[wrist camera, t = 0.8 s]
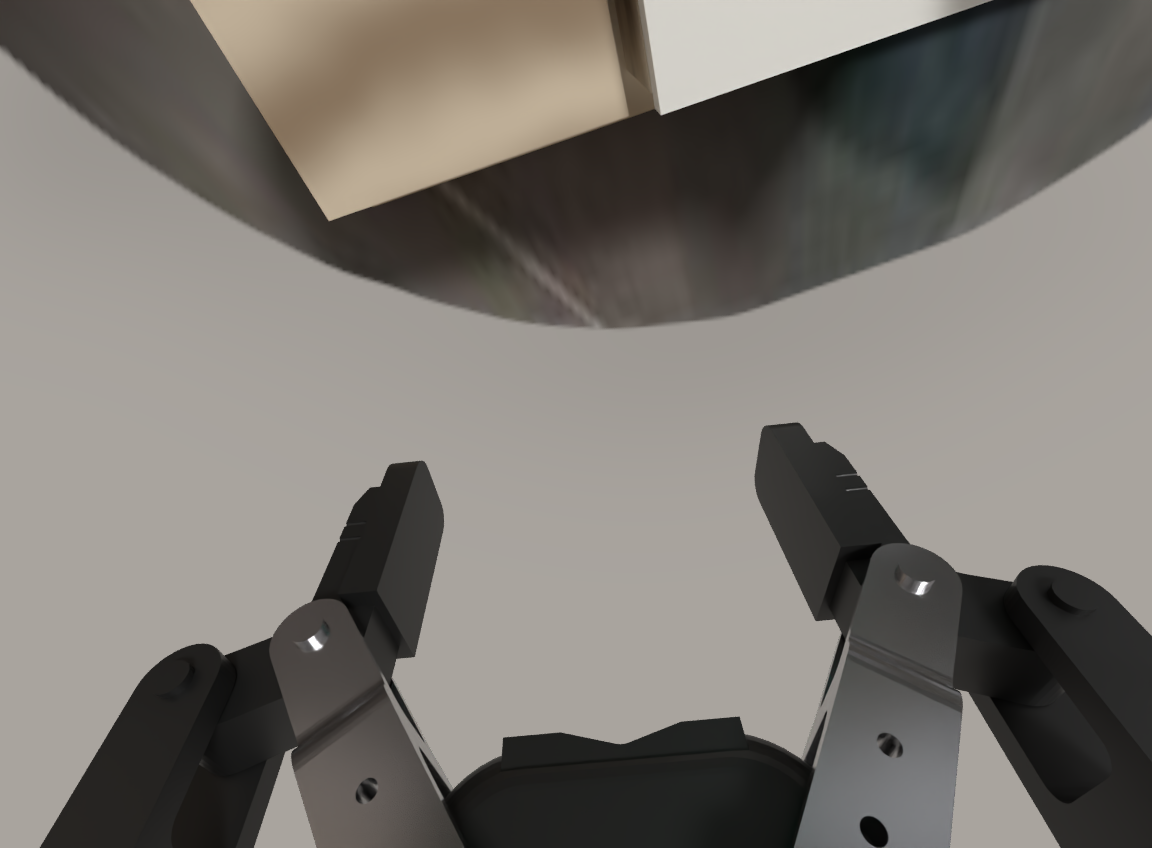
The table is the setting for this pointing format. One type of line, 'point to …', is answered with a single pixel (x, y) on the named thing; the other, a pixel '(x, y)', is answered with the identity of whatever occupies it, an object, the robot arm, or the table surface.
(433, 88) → the puzzle board
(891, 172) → the table surface
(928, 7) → the slide cover
